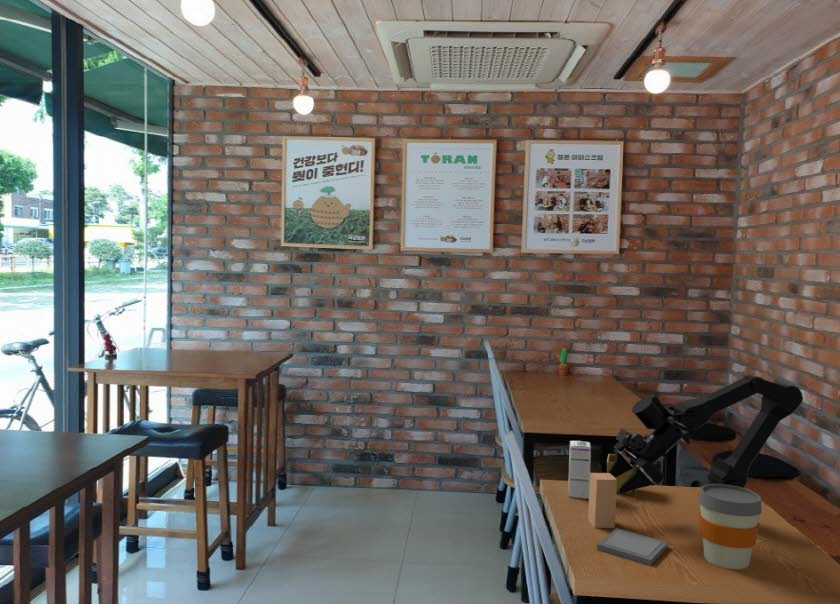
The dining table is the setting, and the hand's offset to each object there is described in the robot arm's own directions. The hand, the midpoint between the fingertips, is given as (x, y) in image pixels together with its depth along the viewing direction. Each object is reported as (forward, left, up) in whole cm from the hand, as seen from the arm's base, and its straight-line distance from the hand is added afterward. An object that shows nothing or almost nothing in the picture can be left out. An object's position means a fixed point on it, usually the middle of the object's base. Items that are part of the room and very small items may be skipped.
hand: (613, 485), depth 163 cm
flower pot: (+7, -26, -10) cm, 29 cm away
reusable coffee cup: (-27, +3, -10) cm, 29 cm away
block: (+2, +2, -10) cm, 10 cm away
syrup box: (+15, -14, -10) cm, 23 cm away
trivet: (-9, +11, -10) cm, 17 cm away
